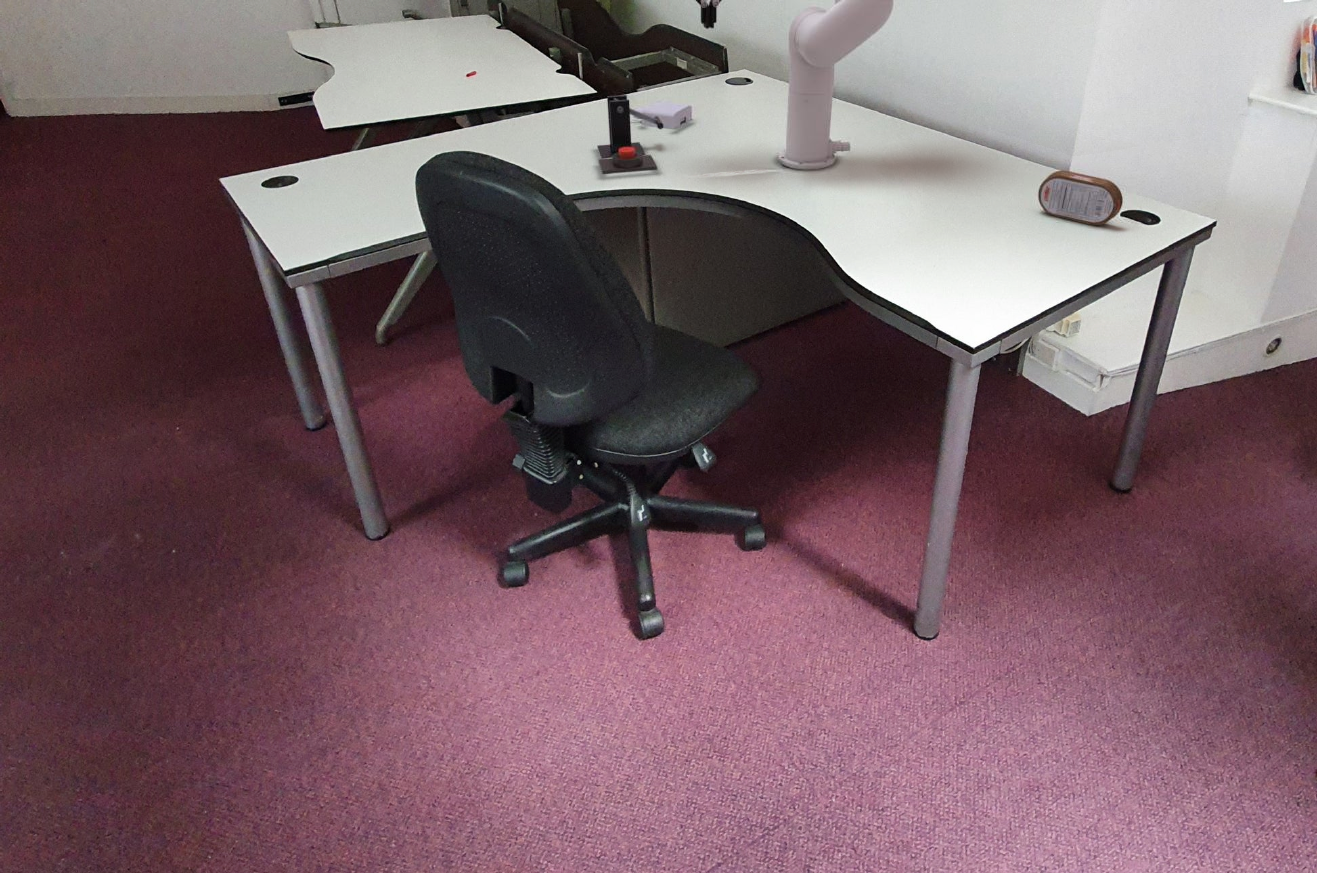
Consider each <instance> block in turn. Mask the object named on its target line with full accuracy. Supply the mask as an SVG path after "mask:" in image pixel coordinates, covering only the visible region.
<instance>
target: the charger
mask: <svg viewBox="0 0 1317 873" xmlns="http://www.w3.org/2000/svg"><path fill="white" fill-rule="evenodd" d="M635 110H636V111H638V112H641V113H643V114H645V115H648V116H650V117H653V118H654V117H656V116H658V117H659V118H660V120H661V122H662V123H663V125H664V126H663V128H662V129H667V130H676V129H678V128H680V127H681V126H684V125H685V124H687V123H688V122H690V121H692V120H693V107H692V105H689V104H681V103H674V102H673V103H672V102H666V101H656V102H655V103H653V104H651V105H649V106H647V107H643V106H640V107H637V108H636V109H635ZM632 117H633V118H634V119H637V120H638V119H639V120H641V124H642V125H643V126H645V127H654V128H658V127H657V126H656V124H653V123H651V122H648V121H646V120H644V119H641V118H639V117H636V116H634V115H632Z"/></svg>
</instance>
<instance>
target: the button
mask: <svg viewBox="0 0 1317 873" xmlns="http://www.w3.org/2000/svg"><path fill="white" fill-rule="evenodd" d="M634 157H635V148H633V147H623V148H620V149H619V158H624V159H628V158H634Z"/></svg>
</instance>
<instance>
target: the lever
mask: <svg viewBox="0 0 1317 873" xmlns="http://www.w3.org/2000/svg"><path fill="white" fill-rule="evenodd" d="M615 100H618V99H616V98H614V100H613V101H615ZM633 115H634V116H636V117H639V118H641V119H640V120H642V119H644V120H646V121H648V122H651V123H653V124H656V126H657V127H656V128H657V129H658V130H663V129H664V128H663V126H664V125H663V123H662V122H661V120H660V118H659V117H658V116H656V117H654V118H653V117H650V116H648V115H645V114H643V113H641V112H638V111H636V109H633V108H630V116H633Z"/></svg>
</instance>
